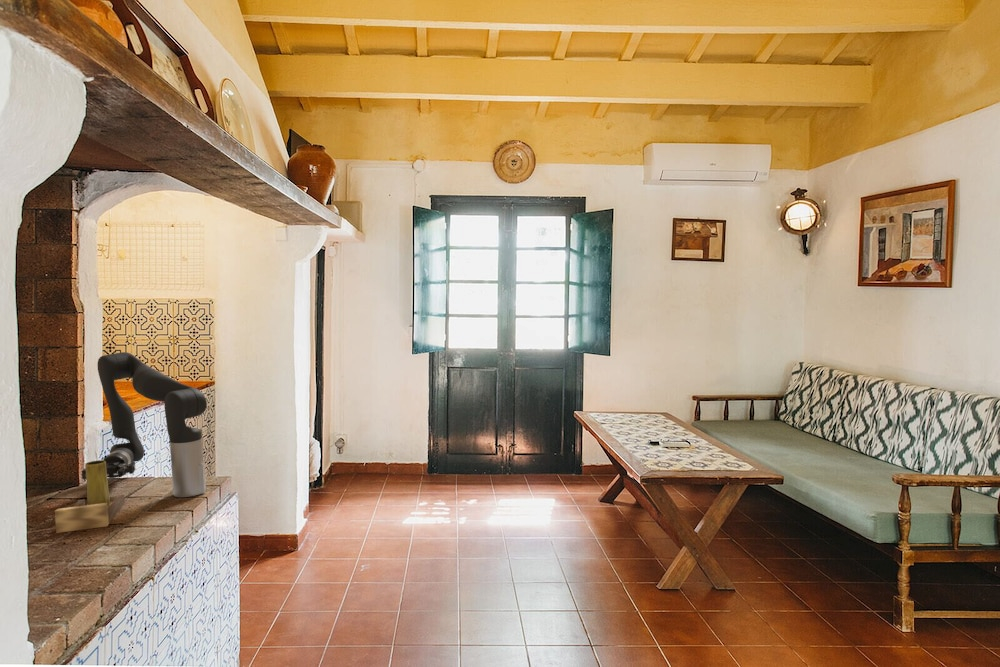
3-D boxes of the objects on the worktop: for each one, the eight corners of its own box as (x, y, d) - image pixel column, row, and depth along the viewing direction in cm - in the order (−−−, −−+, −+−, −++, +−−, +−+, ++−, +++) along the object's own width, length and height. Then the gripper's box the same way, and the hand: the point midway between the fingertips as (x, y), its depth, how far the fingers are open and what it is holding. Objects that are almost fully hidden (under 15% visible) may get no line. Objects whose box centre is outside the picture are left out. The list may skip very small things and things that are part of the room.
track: (124, 502, 199) (123, 483, 199) (107, 526, 178) (105, 504, 178) (79, 508, 195) (78, 488, 195) (56, 532, 174) (54, 511, 174)
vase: (99, 513, 190) (95, 465, 189) (81, 512, 191) (78, 465, 190) (115, 506, 196) (112, 459, 195) (98, 505, 197) (95, 459, 196)
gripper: (90, 455, 213) (76, 467, 198) (139, 450, 217) (128, 461, 202) (92, 477, 213) (78, 491, 198) (140, 472, 218) (130, 485, 203)
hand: (103, 476), depth 200 cm, fingers open, 8 cm apart
